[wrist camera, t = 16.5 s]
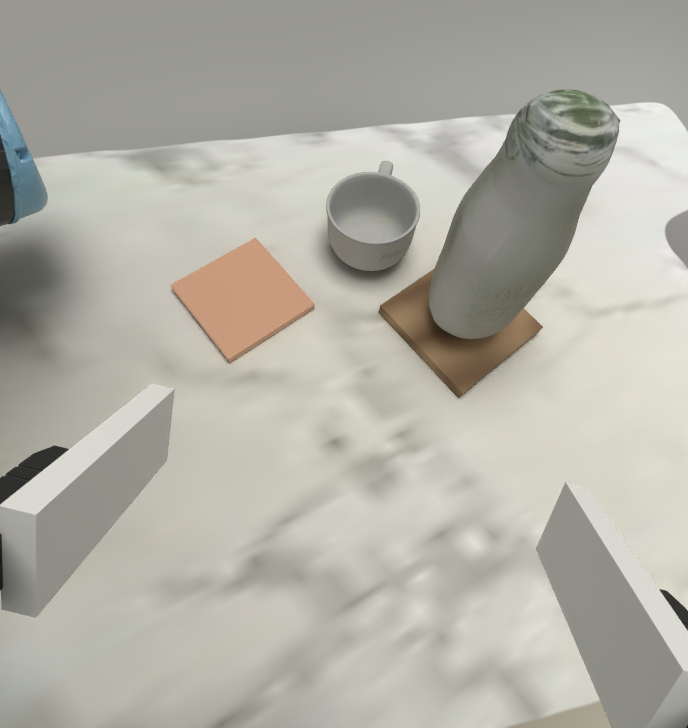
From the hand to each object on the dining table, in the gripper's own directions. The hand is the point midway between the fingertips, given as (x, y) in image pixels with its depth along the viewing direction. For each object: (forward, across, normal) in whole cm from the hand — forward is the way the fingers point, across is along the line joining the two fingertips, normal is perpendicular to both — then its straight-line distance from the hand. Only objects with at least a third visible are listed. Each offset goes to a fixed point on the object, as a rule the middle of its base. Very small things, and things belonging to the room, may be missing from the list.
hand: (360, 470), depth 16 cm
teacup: (+51, -2, +3) cm, 52 cm away
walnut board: (+44, +11, -4) cm, 46 cm away
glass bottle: (+44, +11, -3) cm, 45 cm away
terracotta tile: (+42, -15, -6) cm, 45 cm away
